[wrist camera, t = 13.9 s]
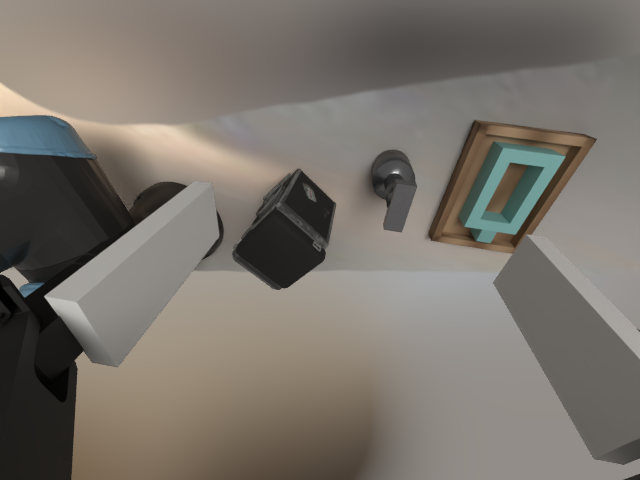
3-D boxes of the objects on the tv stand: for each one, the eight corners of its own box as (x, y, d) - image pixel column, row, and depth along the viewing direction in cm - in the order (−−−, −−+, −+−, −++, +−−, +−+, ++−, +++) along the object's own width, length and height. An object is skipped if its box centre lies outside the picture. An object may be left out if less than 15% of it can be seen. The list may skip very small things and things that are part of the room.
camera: (254, 202, 44) (212, 258, 32) (295, 158, 39) (263, 206, 27) (300, 241, 48) (278, 305, 35) (343, 206, 42) (334, 267, 30)
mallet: (368, 183, 40) (369, 227, 30) (376, 146, 36) (380, 181, 26) (403, 188, 39) (416, 234, 29) (415, 151, 36) (433, 188, 26)
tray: (428, 232, 43) (431, 240, 41) (474, 119, 33) (481, 123, 31) (511, 245, 42) (518, 254, 40) (584, 134, 32) (597, 139, 30)
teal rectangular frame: (493, 141, 33) (503, 148, 31) (551, 148, 33) (565, 156, 31) (453, 227, 41) (458, 238, 39) (499, 234, 41) (508, 246, 38)
